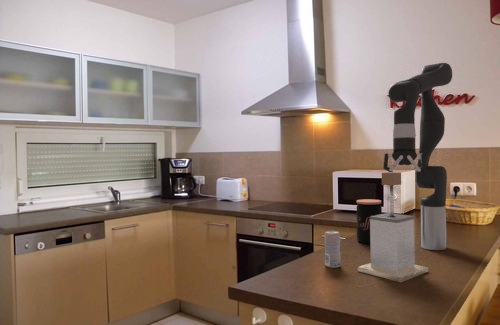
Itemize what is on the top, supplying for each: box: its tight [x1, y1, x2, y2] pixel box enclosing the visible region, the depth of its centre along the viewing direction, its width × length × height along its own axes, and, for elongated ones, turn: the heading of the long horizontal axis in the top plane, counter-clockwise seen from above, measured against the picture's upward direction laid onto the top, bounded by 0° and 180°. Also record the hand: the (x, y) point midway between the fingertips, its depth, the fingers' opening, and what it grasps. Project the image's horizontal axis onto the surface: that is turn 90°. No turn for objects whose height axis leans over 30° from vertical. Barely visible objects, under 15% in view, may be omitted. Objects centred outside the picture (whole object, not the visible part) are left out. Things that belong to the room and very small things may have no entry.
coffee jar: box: [356, 198, 383, 245], centre depth 183 cm, size 11×11×18 cm
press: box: [357, 212, 429, 283], centre depth 139 cm, size 16×16×18 cm
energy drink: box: [324, 230, 341, 269], centre depth 147 cm, size 5×5×12 cm
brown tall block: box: [381, 171, 402, 217], centre depth 138 cm, size 7×7×21 cm
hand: (404, 182), depth 150 cm, fingers open, 8 cm apart
